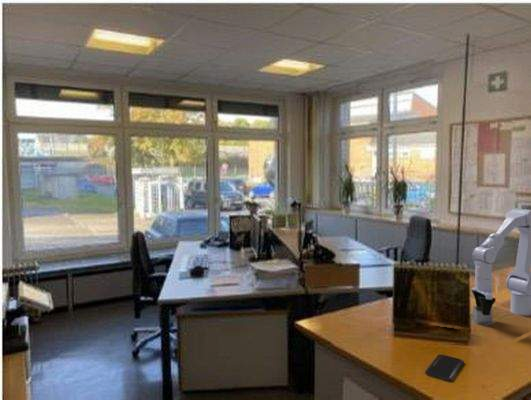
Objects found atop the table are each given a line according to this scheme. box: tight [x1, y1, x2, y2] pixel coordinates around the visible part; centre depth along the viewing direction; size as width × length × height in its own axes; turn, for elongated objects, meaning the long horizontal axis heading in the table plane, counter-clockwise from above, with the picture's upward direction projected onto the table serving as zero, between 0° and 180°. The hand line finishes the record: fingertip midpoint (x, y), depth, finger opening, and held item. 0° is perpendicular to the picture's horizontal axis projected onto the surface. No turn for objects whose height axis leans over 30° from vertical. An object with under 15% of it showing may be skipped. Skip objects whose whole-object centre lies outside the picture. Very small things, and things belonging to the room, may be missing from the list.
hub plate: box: [470, 318, 496, 327], centre depth 161 cm, size 7×7×4 cm
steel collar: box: [472, 305, 493, 325], centre depth 161 cm, size 5×5×5 cm
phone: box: [424, 353, 465, 382], centre depth 128 cm, size 8×1×15 cm
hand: (483, 311), depth 161 cm, fingers open, 7 cm apart
